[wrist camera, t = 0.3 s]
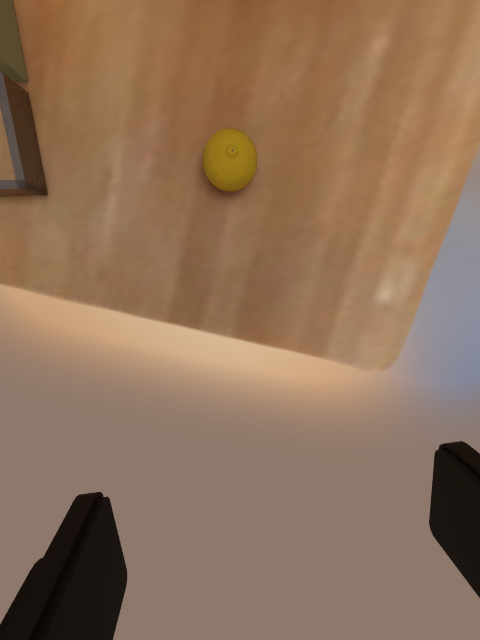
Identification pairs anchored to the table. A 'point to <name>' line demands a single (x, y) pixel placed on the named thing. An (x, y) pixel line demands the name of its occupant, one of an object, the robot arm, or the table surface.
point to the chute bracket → (20, 142)
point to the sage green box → (11, 44)
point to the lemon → (229, 159)
